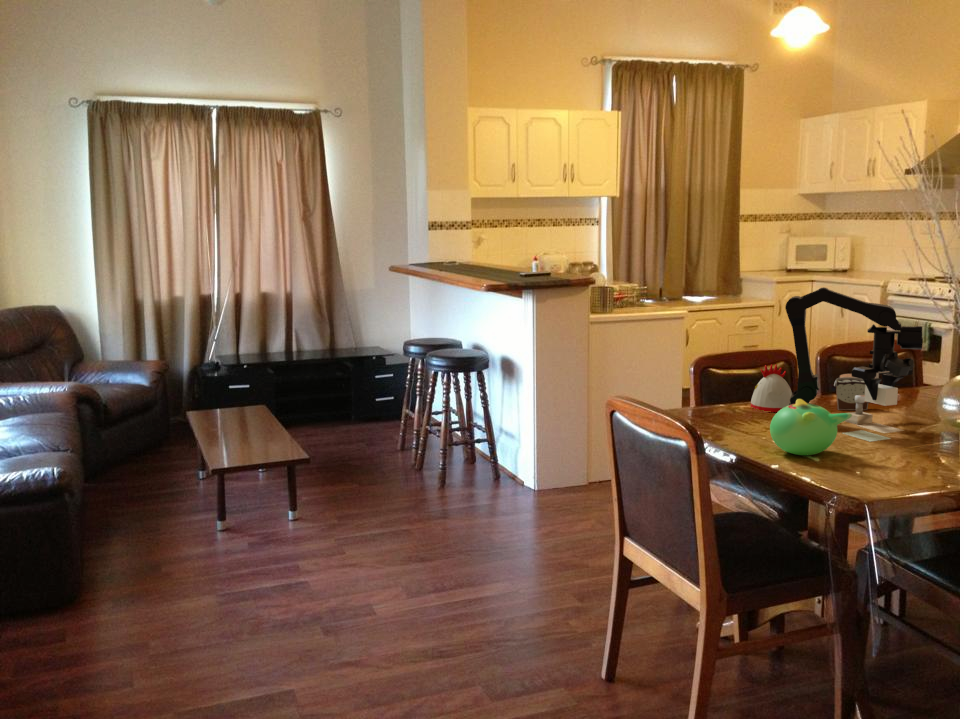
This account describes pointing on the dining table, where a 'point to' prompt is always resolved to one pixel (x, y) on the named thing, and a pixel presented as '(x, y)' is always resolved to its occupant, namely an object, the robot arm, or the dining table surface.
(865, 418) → the housing
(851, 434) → the mat
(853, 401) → the food container
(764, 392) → the kitchen timer
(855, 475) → the dining table surface
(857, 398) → the latch bar
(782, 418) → the toy bird
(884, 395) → the block
